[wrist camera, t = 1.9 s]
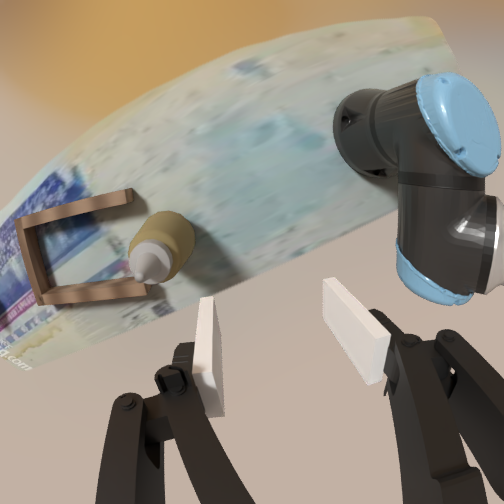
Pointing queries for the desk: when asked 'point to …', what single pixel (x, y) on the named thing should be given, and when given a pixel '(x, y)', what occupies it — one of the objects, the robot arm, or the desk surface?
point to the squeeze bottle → (161, 247)
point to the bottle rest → (76, 291)
